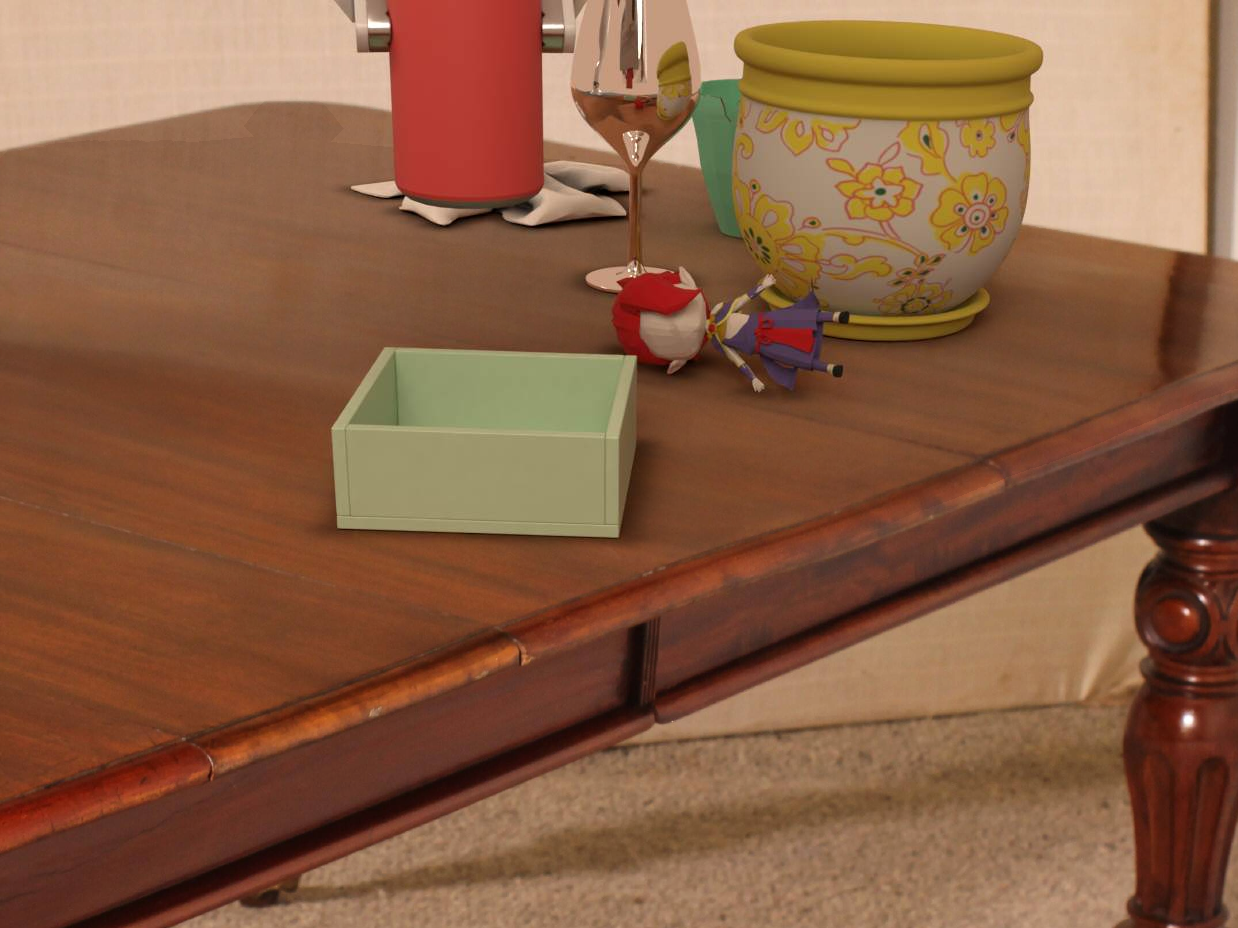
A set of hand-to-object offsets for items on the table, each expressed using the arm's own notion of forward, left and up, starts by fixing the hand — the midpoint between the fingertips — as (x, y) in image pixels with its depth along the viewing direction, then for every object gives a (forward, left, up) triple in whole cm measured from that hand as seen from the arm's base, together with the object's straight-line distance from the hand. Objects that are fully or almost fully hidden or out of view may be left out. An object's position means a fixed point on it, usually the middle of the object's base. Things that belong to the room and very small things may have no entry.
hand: (468, 44), depth 81 cm
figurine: (+11, +16, -20) cm, 28 cm away
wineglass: (+5, +36, -20) cm, 42 cm away
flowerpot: (+20, +30, -20) cm, 41 cm away
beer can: (0, +1, -7) cm, 7 cm away
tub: (+1, -2, -19) cm, 20 cm away
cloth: (-7, +59, -20) cm, 63 cm away
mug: (+15, +52, -20) cm, 58 cm away
